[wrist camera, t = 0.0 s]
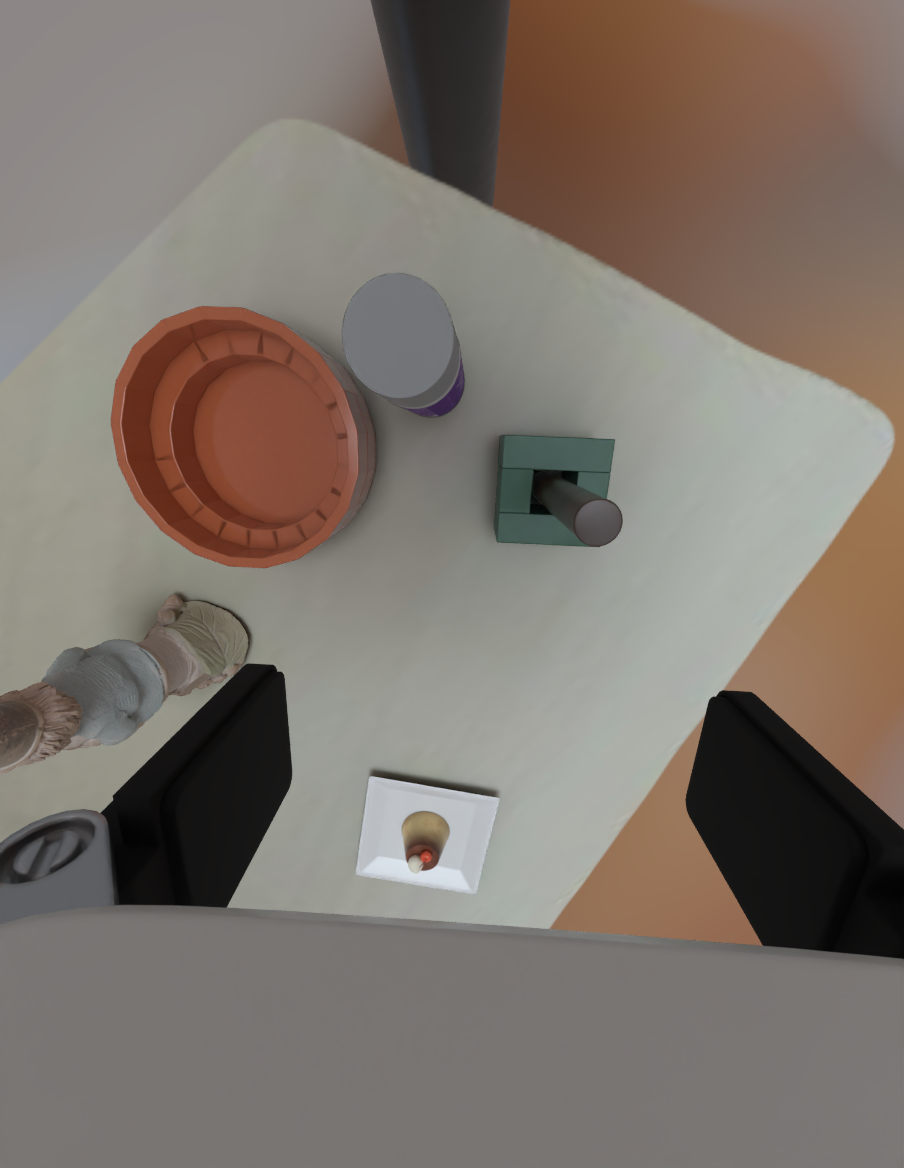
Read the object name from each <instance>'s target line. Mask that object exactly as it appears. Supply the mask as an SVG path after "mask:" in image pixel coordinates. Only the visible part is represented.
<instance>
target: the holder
mask: <svg viewBox="0 0 904 1168" xmlns="http://www.w3.org/2000/svg"><path fill="white" fill-rule="evenodd" d="M614 443H615V439H594V438H569V437H544V436H519V435H500V442H499V457H498V472H497V487H496V503H495V517H494V531H495V535H496V540H497V542H501V543H522V544H544V545H565V546H586V547H593V546H588V545H586V544H584V543H582V542H581V541H580V540H579V539H578V538H577V537H576V536H575V535H574V534H573V533H572V532H571V531H569V530H568V529H567V528H566V527H565V526H564V525H563V524H562V523H561V522H560V521H559V520H558V519H557V518H556V517H555V516H554V515H553V514H552V513H551V512H550V511H549V510H548V509H547V508H546V507H545V506H543V505H542V504H531V493H532V482H533V471H534V470H533V469H535V470H559V471H563V478H562V479H564V480H566V481H568V482H570V483H572V484H575V485H577V486H579V487H581V488H583V489H586V490H588V491H590V492H592V493H594V494H597V495H599V496H601V497H603V498H605V499H607V493H608V486H609V478H610V471H611V464H612V457H613V450H614ZM599 547H600V546H599Z"/></svg>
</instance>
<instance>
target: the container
mask: <svg viewBox="0 0 904 1168" xmlns="http://www.w3.org/2000/svg"><path fill="white" fill-rule="evenodd" d="M342 342H343V348H344V352H345V356H346V359H347V361H348V363H349V365H350V367H351V369H352V371H353V372H354V374H355V375H356V376H357V378H358V379H359V380H360V381H361V382H362V383H363V384H364V385H365V386H366V387H368V388H369V389H370V390H372V391H374V392H375V393H377V394H379V395H380V396H382V397H383V398H385V399H387V400H388V401H390V402H391V403H393V404H395V405H397V406H399V407H402V408H404V409H406V410H409V411H411V412H414V413H416V414H418V415H421V416H425V417H439V416H442V415H445V414H447V413H448V412H450V411H451V410H452V409H453V408H454V407H455V406H456V405H457V404H458V402H459V401H460V399H461V396H462V394H463V390H464V372H463V365H462V358H461V352H460V346H459V342H458V339H457V336H456V332H455V329H454V326H453V322H452V319H451V316H450V313H449V310H448V308H447V306H446V304H445V302H444V300H443V299H442V298H441V296H440V295H439V294H438V292H437V291H436V290H435V289H434V288H433V287H432V286H430V285H429V284H428V283H426V282H425V281H423V280H422V279H420V278H418V277H415V276H412V275H409V274H404V273H389V274H384V275H381V276H378V277H376V278H373V279H372V280H370V281H368V282H367V283H366V284H364V285H363V286H362V287H361V288H360V289H359V290H358V291H357V292H356V294H355V295H354V296H353V298H352V299H351V301H350V303H349V305H348V307H347V310H346V312H345V316H344V320H343V326H342Z"/></svg>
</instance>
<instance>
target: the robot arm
mask: <svg viewBox="0 0 904 1168" xmlns="http://www.w3.org/2000/svg"><path fill="white" fill-rule="evenodd" d="M291 780H292V763H291V751H290V738H289V726H288V714H287V702H286V689H285V678H284V674H283V673H282V672H277V669H276V667H275V666H274V665H265V664H246V665H244V666H243V667H242V668H241V669H240V670H239V671H238V672H237V673H236V674H235V675H234V676H233V677H232V678H231V679H230V680H229V681H228V682H227V683H226V684H225V685H224V686H223V687H222V688H221V689H220V690H219V691H218V692H217V693H216V694H215V695H214V696H213V697H212V698H211V699H210V700H209V701H208V702H207V703H206V704H205V705H204V706H203V707H202V708H201V709H200V710H199V711H198V712H197V713H196V714H195V715H194V716H193V717H192V718H191V719H190V720H189V721H188V722H187V723H186V724H185V725H184V726H183V727H182V728H181V729H180V730H179V731H178V732H177V733H176V734H175V735H174V736H173V737H172V738H171V739H170V740H169V741H168V742H167V743H166V744H165V745H164V746H163V747H162V748H161V749H160V750H159V751H158V752H157V753H156V754H155V755H154V756H153V757H151V758H150V759H149V760H148V761H147V762H146V763H145V764H144V765H143V766H142V767H141V768H140V769H139V770H138V771H137V772H136V773H135V774H134V775H133V776H132V777H131V778H130V779H129V780H128V781H127V782H126V783H125V784H124V785H123V786H122V787H121V788H120V789H119V790H118V791H117V792H116V793H115V794H114V795H113V801H112V802H111V803H110V804H109V805H108V806H107V807H106V808H105V809H104V810H103V811H102V812H101V813H98V812H97V811H92V810H85V809H81V810H71V811H65V812H61V813H57V814H54V815H50V816H47V817H45V818H42V819H40V820H38V821H35V822H33V823H31V824H29V825H27V826H25V827H23V828H22V829H20V830H18V831H17V832H15V833H13V834H11V835H10V836H9V837H7V838H6V839H5V840H4V841H2V842H1V843H0V1168H904V830H903V829H902V828H901V827H900V826H899V825H898V824H897V823H896V822H895V821H894V820H892V819H891V818H890V817H889V816H888V815H887V814H886V813H885V812H884V811H883V810H881V809H880V808H879V807H878V806H877V805H876V804H875V803H874V802H873V801H872V800H871V799H869V798H868V797H867V796H866V795H865V794H864V793H863V792H862V791H861V790H860V789H858V788H857V787H856V786H855V785H854V784H853V783H852V782H851V781H850V780H849V779H847V778H846V777H845V776H844V775H843V774H842V773H841V772H840V771H839V770H838V769H836V768H835V767H834V766H833V765H832V764H831V763H830V762H829V761H828V760H827V759H825V758H824V757H823V756H822V755H821V754H820V753H819V752H818V751H816V749H814V748H813V747H812V746H811V745H810V744H809V743H808V742H807V741H806V740H805V739H803V738H802V737H801V736H800V735H799V734H798V733H797V732H796V731H795V730H794V729H793V728H791V727H790V726H789V725H788V724H787V723H786V722H785V721H784V720H783V719H782V718H780V717H779V716H778V715H777V714H776V713H775V712H774V711H773V710H772V709H771V708H769V707H768V706H767V705H766V704H765V703H764V702H763V701H762V700H760V698H758V697H757V696H756V695H755V694H753V693H752V692H742V691H725V690H722V691H720V692H719V693H718V695H717V696H716V697H712V698H711V699H710V700H709V703H708V707H707V711H706V715H705V719H704V723H703V728H702V732H701V736H700V740H699V744H698V749H697V753H696V757H695V761H694V765H693V769H692V774H691V778H690V782H689V786H688V790H687V794H686V808H687V812H688V814H689V817H690V818H691V820H692V822H693V824H694V825H695V827H696V829H697V831H698V833H699V834H700V836H701V838H702V840H703V841H704V843H705V845H706V847H707V848H708V850H709V852H710V854H711V855H712V857H713V859H714V861H715V862H716V864H717V866H718V867H719V869H720V871H721V873H722V875H723V876H724V878H725V880H726V882H727V883H728V885H729V887H730V889H731V890H732V892H733V894H734V895H735V897H736V899H737V901H738V903H739V904H740V906H741V908H742V910H743V911H744V913H745V915H746V917H747V919H748V920H749V922H750V924H751V925H752V927H753V929H754V931H755V933H756V934H757V936H758V938H759V939H760V941H761V943H762V945H763V946H758V945H746V944H733V943H720V942H708V941H696V940H683V939H670V938H657V937H645V936H633V935H620V934H606V933H593V932H579V931H566V930H553V929H539V928H526V927H512V926H498V925H484V924H471V923H457V922H443V921H429V920H414V919H399V918H384V917H369V916H354V915H339V914H324V913H310V912H295V911H280V910H260V909H240V908H226V907H227V906H228V904H229V902H230V900H231V898H232V896H233V894H234V892H235V890H236V889H237V887H238V885H239V883H240V881H241V879H242V877H243V875H244V873H245V871H246V870H247V868H248V866H249V864H250V862H251V860H252V858H253V856H254V854H255V852H256V851H257V849H258V847H259V845H260V843H261V841H262V839H263V837H264V835H265V833H266V832H267V830H268V828H269V826H270V824H271V822H272V820H273V818H274V816H275V815H276V813H277V811H278V809H279V807H280V805H281V803H282V801H283V799H284V797H285V796H286V794H287V792H288V790H289V787H290V784H291Z"/></svg>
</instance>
